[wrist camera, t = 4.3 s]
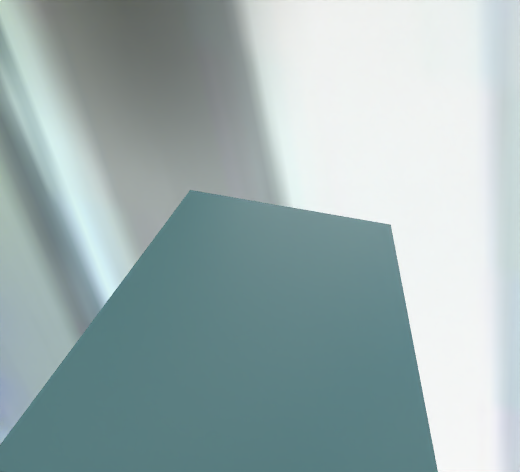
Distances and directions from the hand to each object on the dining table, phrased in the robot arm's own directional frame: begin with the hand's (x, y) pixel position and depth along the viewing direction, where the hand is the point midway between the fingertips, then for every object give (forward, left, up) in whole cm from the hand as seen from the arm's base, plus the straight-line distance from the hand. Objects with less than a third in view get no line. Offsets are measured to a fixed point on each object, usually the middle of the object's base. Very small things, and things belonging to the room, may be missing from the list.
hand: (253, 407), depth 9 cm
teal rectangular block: (0, 0, -2) cm, 2 cm away
